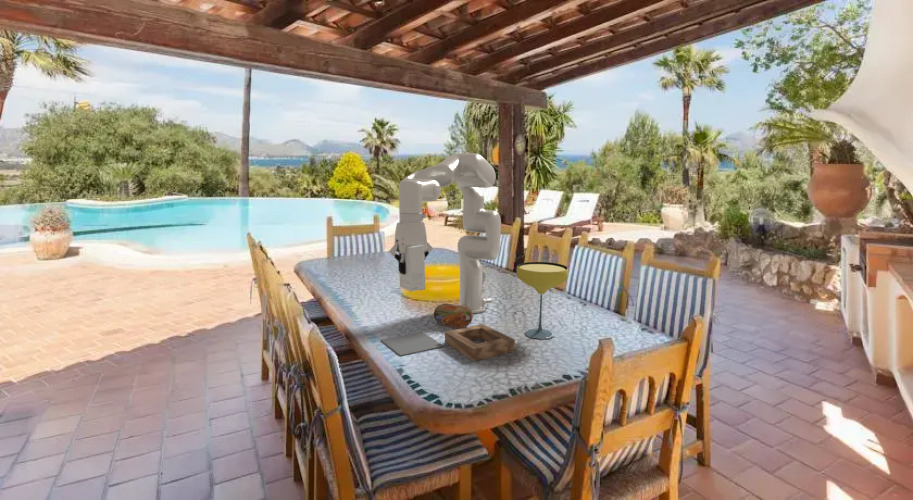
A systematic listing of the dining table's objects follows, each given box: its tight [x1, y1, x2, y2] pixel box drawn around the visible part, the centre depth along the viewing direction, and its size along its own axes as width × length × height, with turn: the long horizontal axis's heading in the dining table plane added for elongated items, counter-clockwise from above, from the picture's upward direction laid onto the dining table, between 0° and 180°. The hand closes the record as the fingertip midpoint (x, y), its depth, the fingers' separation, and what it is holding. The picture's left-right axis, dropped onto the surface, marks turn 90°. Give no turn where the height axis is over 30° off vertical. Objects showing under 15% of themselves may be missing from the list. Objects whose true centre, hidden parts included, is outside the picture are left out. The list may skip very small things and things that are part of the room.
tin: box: [433, 303, 474, 329], centre depth 180 cm, size 15×3×8 cm, turn 70°
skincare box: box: [398, 245, 427, 292], centre depth 157 cm, size 8×6×15 cm
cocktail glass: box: [516, 261, 569, 339], centre depth 170 cm, size 18×18×25 cm
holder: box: [444, 323, 516, 362], centre depth 159 cm, size 16×18×4 cm
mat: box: [380, 331, 445, 357], centre depth 161 cm, size 16×16×1 cm
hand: (411, 271), depth 157 cm, fingers closed on skincare box, 5 cm apart
